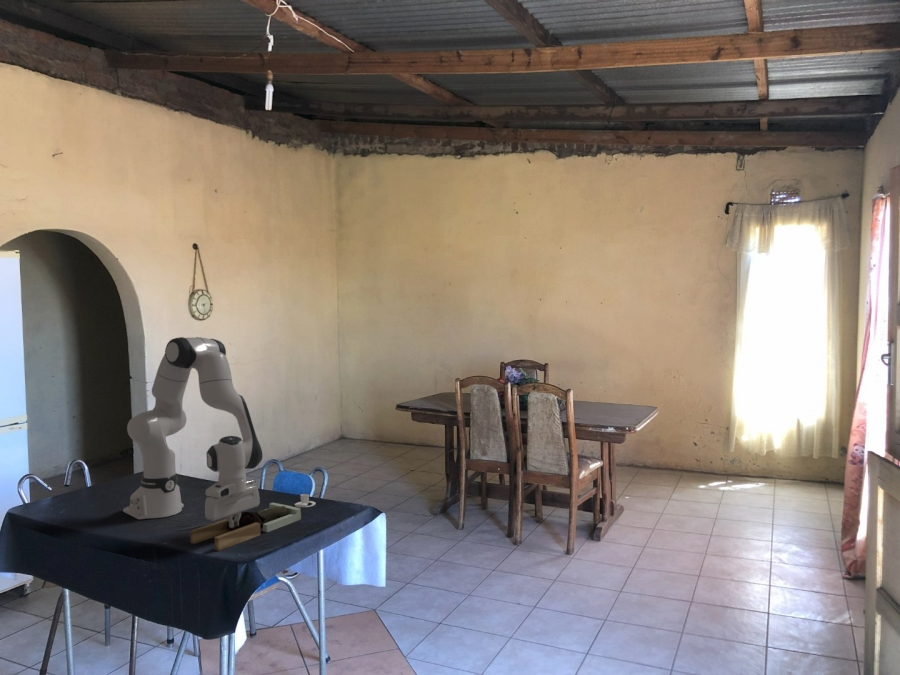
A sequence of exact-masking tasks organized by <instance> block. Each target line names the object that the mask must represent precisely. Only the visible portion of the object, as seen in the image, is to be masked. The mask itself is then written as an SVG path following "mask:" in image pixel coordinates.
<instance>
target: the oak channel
mask: <svg viewBox="0 0 900 675" xmlns="http://www.w3.org/2000/svg"><path fill="white" fill-rule="evenodd" d="M227 523H228V521H227V519H226V518H223V519H220V520H219V521H218V520H217V521H214V522H212V523H210V524H207V525H204V526H200V527H198V528H195V529H192V530H190V531H189V535H190V544H193V545H196V544H198V543H202V542H203V541H207V540H209V539H213V538H214V551H217V552H220V551H222V550H225V549H227V548H231V547H233V546H236V545H238V544H241V543H243V542H246V541H248V540H251V539H254V538H257V537H259V536H261V526H260V523H257V522H256V523H253V524H250V525H247V526H245V527H242V528H239V529H236V530H234V531H233V530H232V531H230V530H229V529H227V528H226V527H227V525H228V524H227Z"/></svg>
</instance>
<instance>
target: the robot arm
mask: <svg viewBox="0 0 900 675" xmlns="http://www.w3.org/2000/svg"><path fill="white" fill-rule="evenodd" d="M192 369H194V370H196V372H197V375H198V388H199V393H200V397H201V400H202V401H203V402H204V404H206V405H207V406H209V407H210V408H213V409H216V410H220V411H224V412H226V413H229V414H231V415H233V417H235V418H236V421H237V424H238V427H239V430H240V434H241V437H240V436H236V435H227V436H224V437H221V438H220V439H219V440H218V442H217V443H215V444H212V445H211V446H210V447H209V448H208V450H207V451H206V466H207V468H208V469H209V470H211V471H213V472H216V473H218V481H216V482H215V483H214V484H212V485H211V486H209V487H208V488H207V489H206V490H205V496H207V497H206V498H205V501H204V502H205V503H204V517H205V518H206V520H208V521H211V522H216V521H218V520H222V519H227V520H228V522H229V527H230V528H233V527H236V526H239V519H240V517H241V512H246V511H248V510H251V509H254V508H257V507H259V505H260V503H261V502H260V501H261V500H260V492H259V489H258V482H257V481H256V480H254V479H251V480H249V481H247V474H246V470H248V469H249V470H251V469H253V470H254V469H255V468H256V467H257V466H259V465H260V463H261V462H262V460H263V450H262V447H261V444H260V441H259V440H258V437H257V434H256V430H255V427H254V424H253V420H252V417H251V414H250V410H249V408H248V405H247V402H246V400H245V398H244V396H243V395H240V394H239V393H238V392H237V391H236V389H235V387H234V383H233V378H232V371H231V368H230V364H229V361H228V358H227V350H226V347H225V344H224V343H223V342H222V341H220V340H217V339H215V338H207V337H198V336H196V337H195V336H194V337H183V336H182V337H175V338H172V339H170V340H169V341H168V342H167V344H166V347H165V351H164V354H163V357H162V359H161V360H160V363H159V366H158V368H157V370H156V374H155V378H154V380H153V385H152V388H151V395H152V396H153V397H154V398H155V404H154V408H152V409H151V410H146V411H142V412H140V413H138V414H136V415H134V416H133V417H132V418H130V419H129V421H128V423H127V425H126V426H127V428H126V431H127V434H128V436H129V437H130V439H131V440H132V441H134V442H135V443H136V444H137V446H138V448H139V450H140V453H141V457H142V471H143V476H140V477H139V481H141V482H140V486H139V487H138V488H137V489H136V490H135V491H134V492H133V493H132V494H131V495H130V497H129V505H128V506H126V507H124V508H123V509H122V512H123V513H125V514H127V515H129V516H131V517H133V518H135V519H137V520H145V519H147V520H148V519H160V518H166V517H171V516H174V515H177V514H180V512H181V511H182V510H183V508H184V507H185V505H184V503H183V502H182V498H181V492H180V491H181V490H180V486H179V485H178V473H177V472H176V471H177V470H176V453H175V452H174V450H173V449H170V447H169V445H168V443H167V439H166V438H167V437H169V436H172V435H175V434H177V433H178V432H180V431H181V430H183V428H184V427H185V426H186V424H187V415H186V413H185V411H184V410H183V401H184V394H185V392H186V387H187V385H188V382H189V378H190V375H191V372H192ZM233 517H235V518H234V520H233V519H232V518H233Z"/></svg>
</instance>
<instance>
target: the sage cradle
mask: <svg viewBox="0 0 900 675" xmlns="http://www.w3.org/2000/svg"><path fill="white" fill-rule="evenodd" d="M268 506H269V508H265V509H264V510H266V509H271V508H276V507H281V506H285V507H286V509H287V514H288V515H286V516H284V517H281V518H278V519H276V520H273V521H270V522H268V523H265V524H262V532H264V533H270V532H272V531H274V530H277V529H279V528H282V527H285V526H288V525H290V524H292V523H295V522H299V521H300V520H302V511H301V510H302V507H296V506H291V505H287V504H281V503H277V502H270V503H268Z"/></svg>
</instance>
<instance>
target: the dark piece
mask: <svg viewBox="0 0 900 675" xmlns="http://www.w3.org/2000/svg"><path fill="white" fill-rule="evenodd" d="M265 509H266V510H265ZM265 509H263V510H258V511H254V512H252V511H242V512H241V517H240V519H239V526H236V527H233V528H230V527H229V522H228V523H227V524H228V525H227V527H226V528H227V529H229V530H230V531H229V532H231V531H234V530H236V529H239V528H242V527H245V526H247V525H250V524H253V523H256V522H257V523H260V527H262V526H263V524H265V523H268V522H270V521H273V520H276V519H278V518H281V517H284V516H286V515H288V514H287V509H286V507H285V506H281V507H276V508H271V509H268V508H265ZM234 518H235V516H233V518H232V519H233V520H234ZM227 521H228V520H227Z"/></svg>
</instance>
